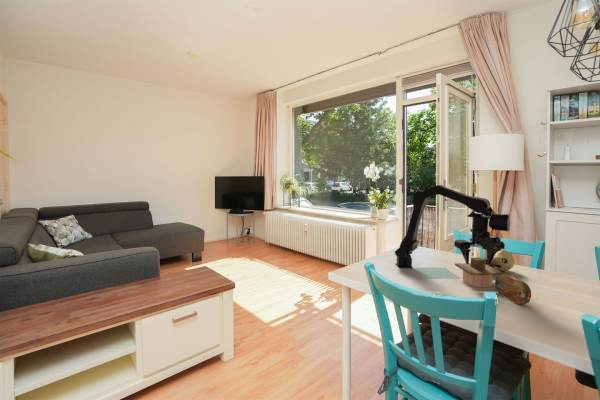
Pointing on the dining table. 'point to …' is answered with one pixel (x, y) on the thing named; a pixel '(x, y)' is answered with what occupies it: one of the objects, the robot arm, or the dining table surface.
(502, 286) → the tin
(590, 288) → the dining table surface
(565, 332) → the dining table surface
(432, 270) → the teal mat
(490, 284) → the terracotta bowl
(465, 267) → the walnut lid
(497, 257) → the yellow rounded lump
